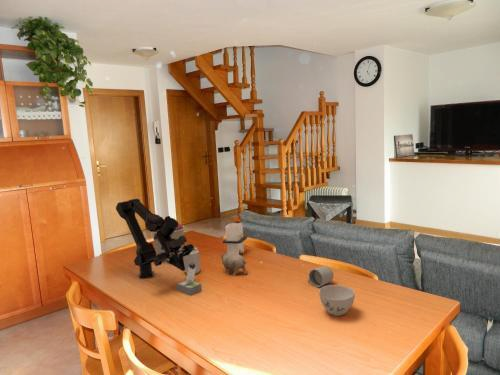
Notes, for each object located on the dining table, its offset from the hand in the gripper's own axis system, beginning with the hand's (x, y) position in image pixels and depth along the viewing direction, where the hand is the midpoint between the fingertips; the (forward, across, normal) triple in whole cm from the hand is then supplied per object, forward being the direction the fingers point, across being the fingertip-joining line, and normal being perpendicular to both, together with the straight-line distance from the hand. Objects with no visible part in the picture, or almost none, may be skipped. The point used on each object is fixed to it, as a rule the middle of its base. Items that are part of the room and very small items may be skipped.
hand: (184, 270), depth 166 cm
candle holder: (-4, +48, +17) cm, 51 cm away
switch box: (+8, 0, +4) cm, 9 cm away
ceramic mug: (+37, +37, -26) cm, 58 cm away
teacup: (+50, +19, -39) cm, 66 cm away
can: (-3, +15, +16) cm, 22 cm away
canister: (-22, +23, +36) cm, 49 cm away
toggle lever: (+6, 0, +1) cm, 6 cm away
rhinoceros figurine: (+8, +26, +4) cm, 28 cm away
